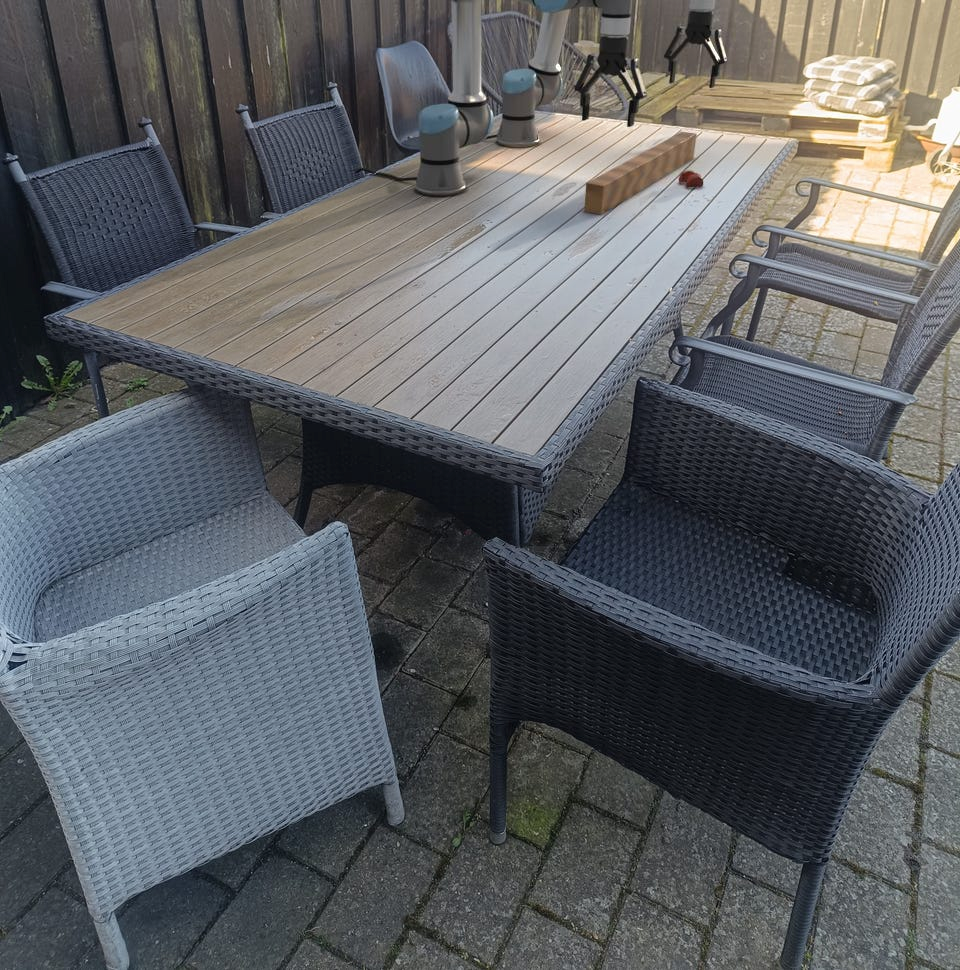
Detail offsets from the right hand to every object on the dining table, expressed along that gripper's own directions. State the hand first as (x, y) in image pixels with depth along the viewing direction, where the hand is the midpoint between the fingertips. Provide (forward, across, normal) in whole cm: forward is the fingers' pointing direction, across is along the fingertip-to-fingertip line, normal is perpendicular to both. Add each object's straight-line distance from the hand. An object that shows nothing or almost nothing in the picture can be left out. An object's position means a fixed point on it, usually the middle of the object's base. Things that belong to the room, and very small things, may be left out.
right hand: (691, 85), depth 272 cm
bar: (+23, 0, +31) cm, 39 cm away
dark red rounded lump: (+23, -13, +26) cm, 37 cm away
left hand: (0, 0, +62) cm, 62 cm away
